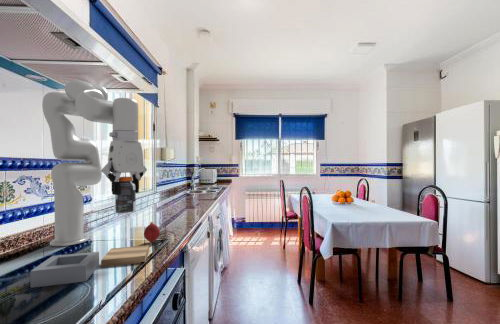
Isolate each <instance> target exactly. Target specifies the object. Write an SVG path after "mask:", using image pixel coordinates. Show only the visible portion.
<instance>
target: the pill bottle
mask: <svg viewBox="0 0 500 324" xmlns="http://www.w3.org/2000/svg"><path fill="white" fill-rule="evenodd" d="M132 181H133V179H132V176H120V178H119V181H118V182H120V195H114V198H115V203H114V205H115V213H117V214H129V213H134V212H135V211H136V210H137V208H136V207H137V204H136V202H137V201H136V200H137V199H136V196H137V195H136V194H137V193H135V184H134V183H132Z"/></svg>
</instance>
